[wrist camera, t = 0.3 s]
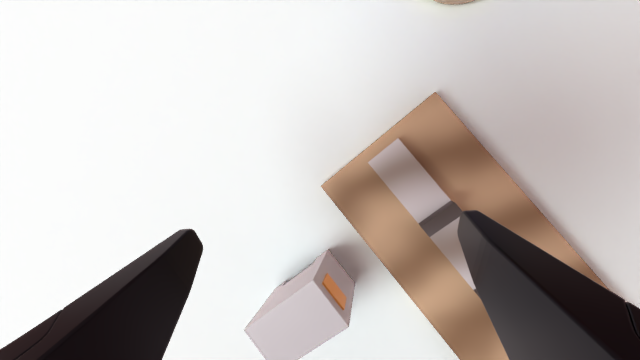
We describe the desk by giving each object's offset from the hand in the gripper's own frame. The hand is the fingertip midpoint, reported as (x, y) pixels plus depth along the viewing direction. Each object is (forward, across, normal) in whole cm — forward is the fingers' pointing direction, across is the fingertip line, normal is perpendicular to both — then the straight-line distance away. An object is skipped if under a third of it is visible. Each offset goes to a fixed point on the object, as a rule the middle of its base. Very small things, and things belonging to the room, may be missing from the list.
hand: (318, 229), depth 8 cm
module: (+8, +4, +16) cm, 18 cm away
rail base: (+9, -9, +12) cm, 18 cm away
